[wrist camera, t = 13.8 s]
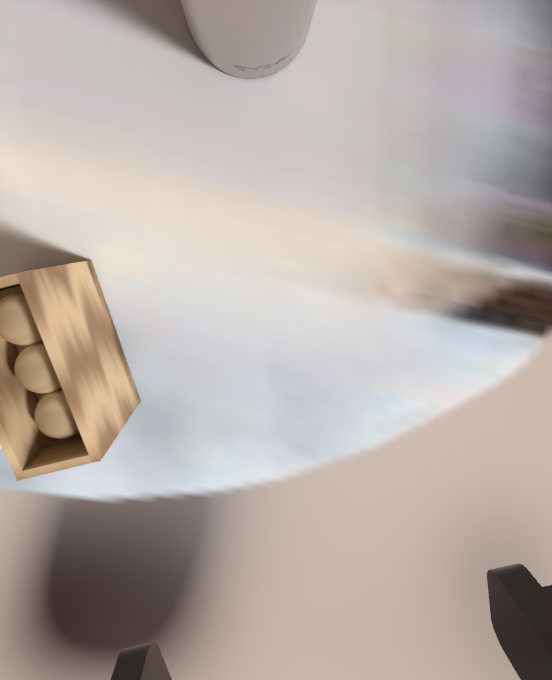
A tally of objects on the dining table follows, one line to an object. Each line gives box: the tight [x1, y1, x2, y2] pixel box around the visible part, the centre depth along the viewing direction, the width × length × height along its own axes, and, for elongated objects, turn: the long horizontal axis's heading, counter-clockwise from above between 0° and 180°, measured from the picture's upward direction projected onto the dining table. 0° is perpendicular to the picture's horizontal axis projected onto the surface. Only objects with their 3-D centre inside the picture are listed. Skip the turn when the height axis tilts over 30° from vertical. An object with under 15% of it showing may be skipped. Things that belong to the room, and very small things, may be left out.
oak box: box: [0, 260, 140, 481], centre depth 30 cm, size 13×6×10 cm, turn 13°
